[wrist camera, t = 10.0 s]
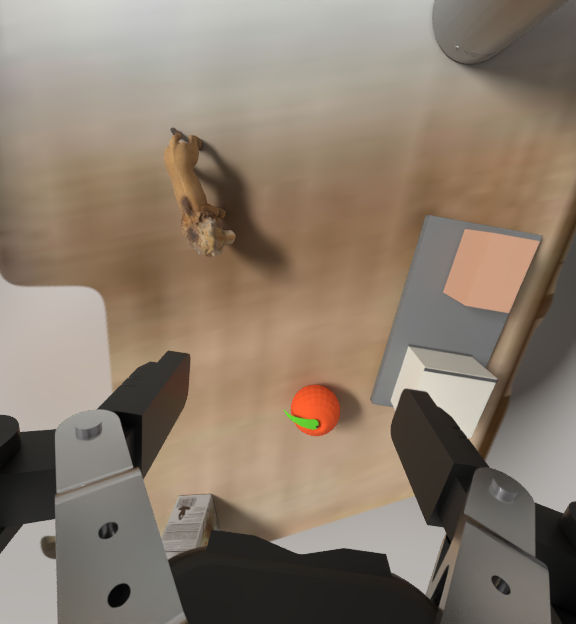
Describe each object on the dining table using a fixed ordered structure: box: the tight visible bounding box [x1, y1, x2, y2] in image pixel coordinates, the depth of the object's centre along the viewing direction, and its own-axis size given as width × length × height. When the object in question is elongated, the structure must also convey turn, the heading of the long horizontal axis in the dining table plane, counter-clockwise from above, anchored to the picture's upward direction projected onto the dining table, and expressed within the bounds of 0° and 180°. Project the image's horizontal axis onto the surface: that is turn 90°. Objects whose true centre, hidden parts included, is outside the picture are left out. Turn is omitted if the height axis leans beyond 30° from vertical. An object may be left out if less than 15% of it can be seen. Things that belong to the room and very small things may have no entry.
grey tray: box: [370, 215, 542, 438], centre depth 39 cm, size 27×14×7 cm, turn 170°
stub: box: [443, 229, 540, 313], centre depth 36 cm, size 8×5×6 cm, turn 170°
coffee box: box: [161, 494, 219, 559], centre depth 48 cm, size 9×6×16 cm
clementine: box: [284, 385, 340, 436], centre depth 43 cm, size 8×7×7 cm
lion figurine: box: [164, 128, 236, 257], centre depth 33 cm, size 15×5×9 cm, turn 24°
